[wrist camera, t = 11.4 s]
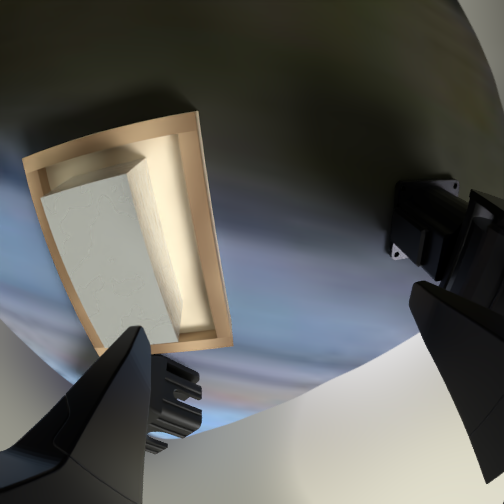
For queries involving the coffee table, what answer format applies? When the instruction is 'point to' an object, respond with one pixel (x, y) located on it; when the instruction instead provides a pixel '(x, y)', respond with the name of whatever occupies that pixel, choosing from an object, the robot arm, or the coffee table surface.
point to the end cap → (171, 401)
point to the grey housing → (116, 251)
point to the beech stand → (170, 211)
